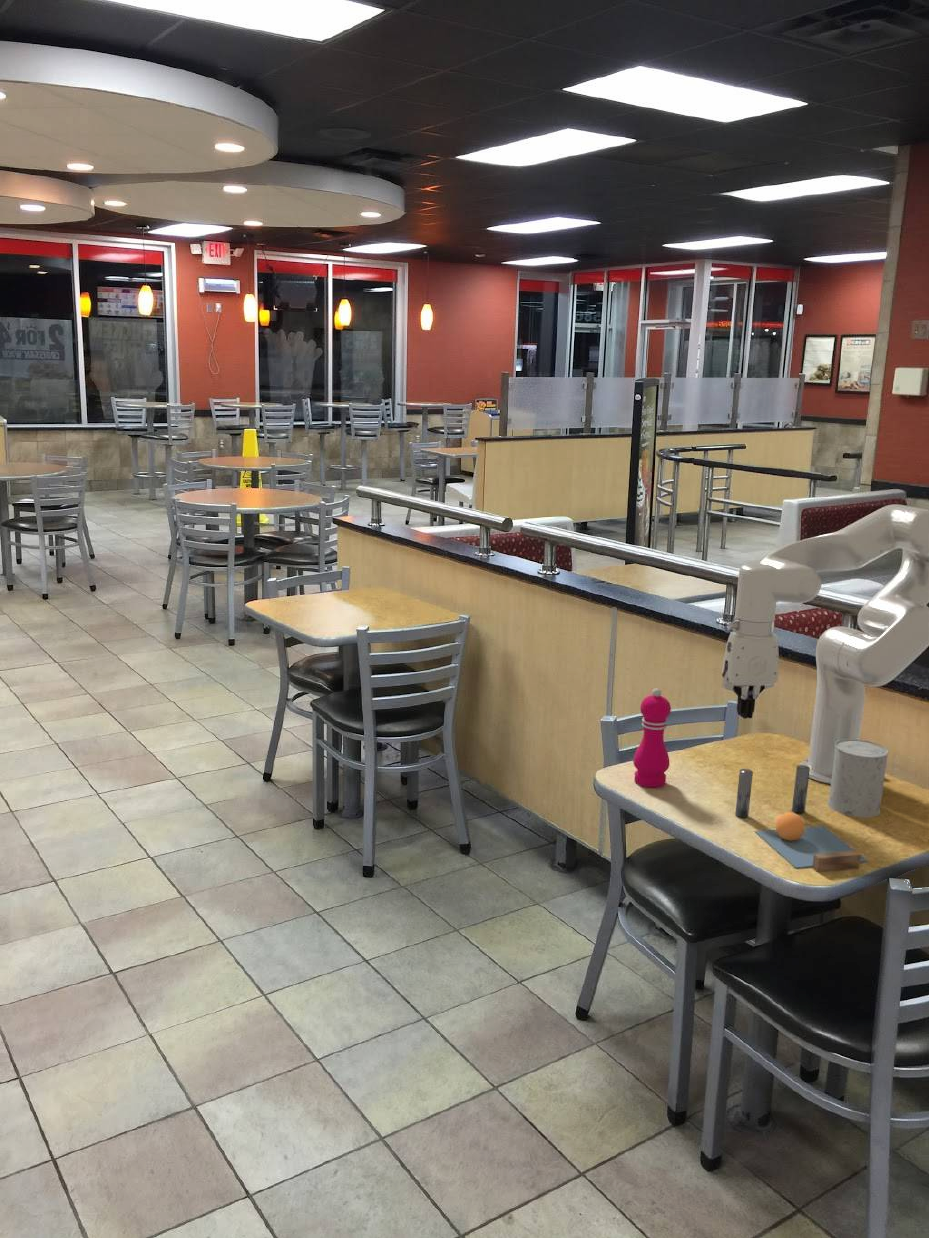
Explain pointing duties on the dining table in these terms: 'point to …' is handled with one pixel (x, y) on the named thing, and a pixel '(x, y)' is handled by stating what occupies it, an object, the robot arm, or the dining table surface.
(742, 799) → the post
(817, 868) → the wall
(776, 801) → the dining table surface
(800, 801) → the post
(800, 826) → the ball
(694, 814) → the dining table surface
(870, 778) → the speckled stone cylinder
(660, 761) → the pepper mill
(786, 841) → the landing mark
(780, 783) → the dining table surface
